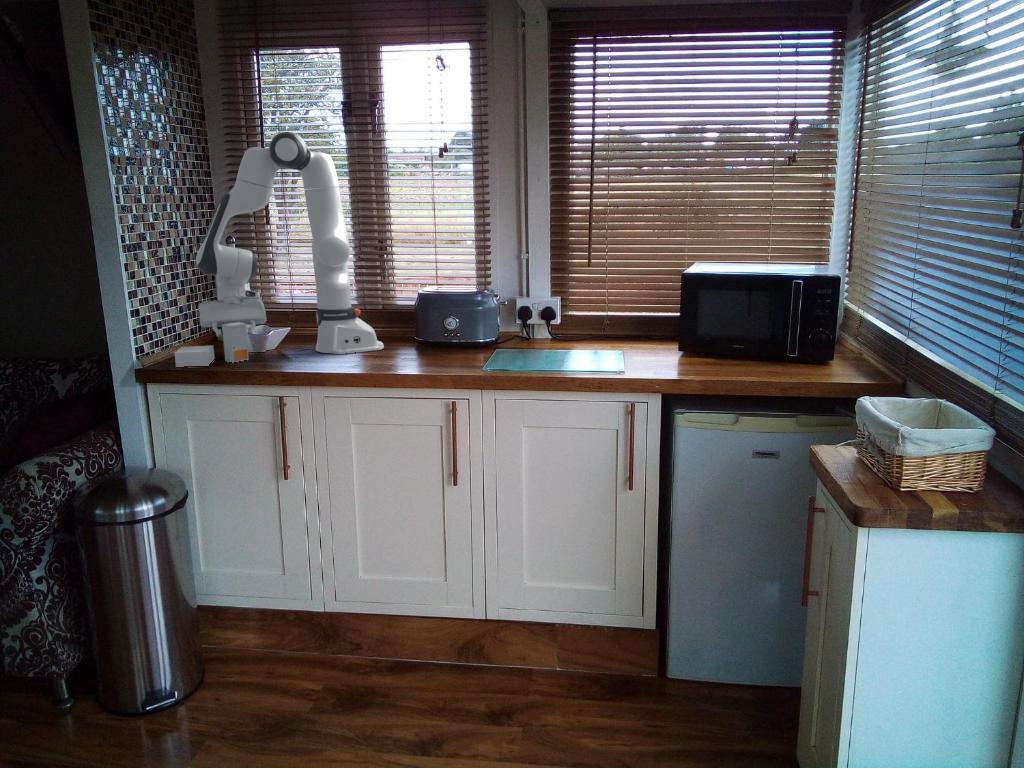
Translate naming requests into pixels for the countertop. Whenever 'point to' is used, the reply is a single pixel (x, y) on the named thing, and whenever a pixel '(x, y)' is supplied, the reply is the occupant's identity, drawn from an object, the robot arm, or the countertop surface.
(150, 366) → the countertop surface
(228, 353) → the skincare box
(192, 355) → the grey block
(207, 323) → the robot arm
